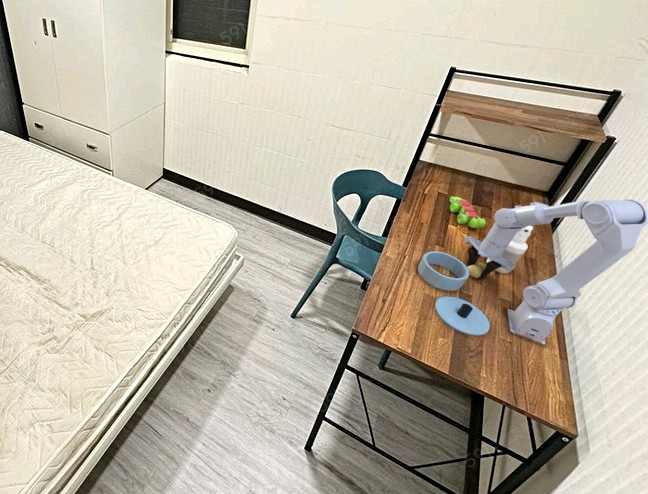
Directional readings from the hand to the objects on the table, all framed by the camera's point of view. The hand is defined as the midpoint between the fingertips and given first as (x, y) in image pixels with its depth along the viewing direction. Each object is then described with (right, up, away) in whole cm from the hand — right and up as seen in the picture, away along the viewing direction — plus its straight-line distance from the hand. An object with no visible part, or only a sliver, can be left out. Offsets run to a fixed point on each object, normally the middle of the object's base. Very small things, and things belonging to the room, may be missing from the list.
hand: (476, 271), depth 135 cm
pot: (-13, -2, -1) cm, 13 cm away
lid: (-16, -10, -14) cm, 23 cm away
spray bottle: (+11, +1, +4) cm, 12 cm away
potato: (0, -1, +1) cm, 1 cm away
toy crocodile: (+16, +15, +26) cm, 34 cm away
